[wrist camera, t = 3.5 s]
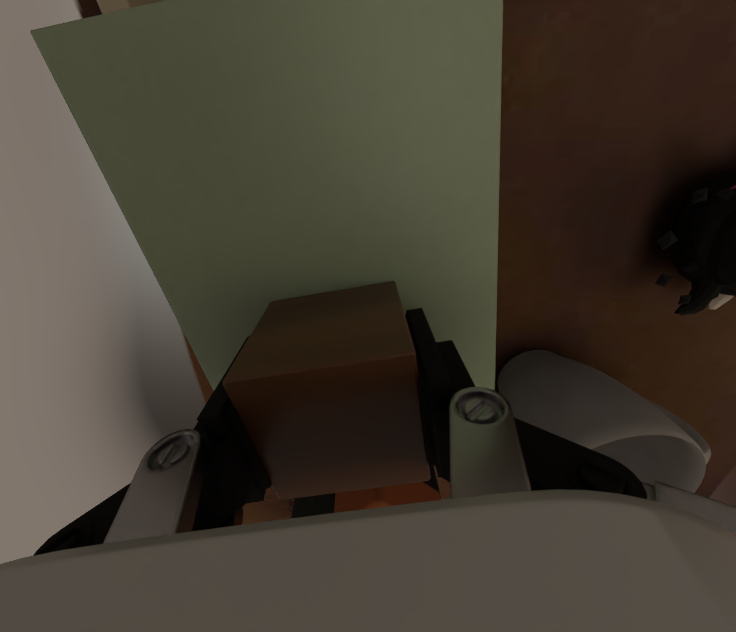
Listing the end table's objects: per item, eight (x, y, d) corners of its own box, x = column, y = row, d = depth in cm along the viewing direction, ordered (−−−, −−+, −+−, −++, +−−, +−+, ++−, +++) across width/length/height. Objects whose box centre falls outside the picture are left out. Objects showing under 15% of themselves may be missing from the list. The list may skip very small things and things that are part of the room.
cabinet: (202, 95, 16) (28, 29, 8) (425, 49, 16) (505, -79, 7) (283, 334, 23) (239, 442, 14) (442, 309, 22) (495, 405, 14)
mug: (467, 418, 27) (517, 539, 19) (487, 329, 23) (563, 432, 14) (602, 417, 27) (713, 536, 19) (645, 330, 23) (810, 430, 15)
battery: (372, 393, 26) (379, 520, 17) (428, 433, 28) (460, 564, 19) (337, 422, 27) (327, 554, 18) (393, 458, 29) (408, 591, 20)
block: (269, 300, 11) (220, 382, 7) (395, 279, 11) (416, 352, 7) (302, 396, 13) (278, 501, 9) (409, 380, 13) (431, 481, 9)
